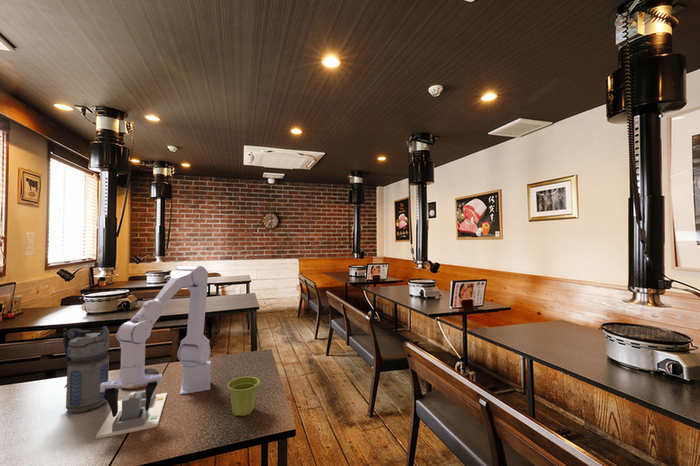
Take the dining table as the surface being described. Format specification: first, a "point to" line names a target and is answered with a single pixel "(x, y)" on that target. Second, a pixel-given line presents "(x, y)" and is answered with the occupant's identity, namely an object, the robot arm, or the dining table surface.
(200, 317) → the robot arm
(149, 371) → the donut
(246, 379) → the plant pot
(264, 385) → the dining table surface
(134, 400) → the plug
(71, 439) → the dining table surface
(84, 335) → the beverage bottle
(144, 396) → the panel
